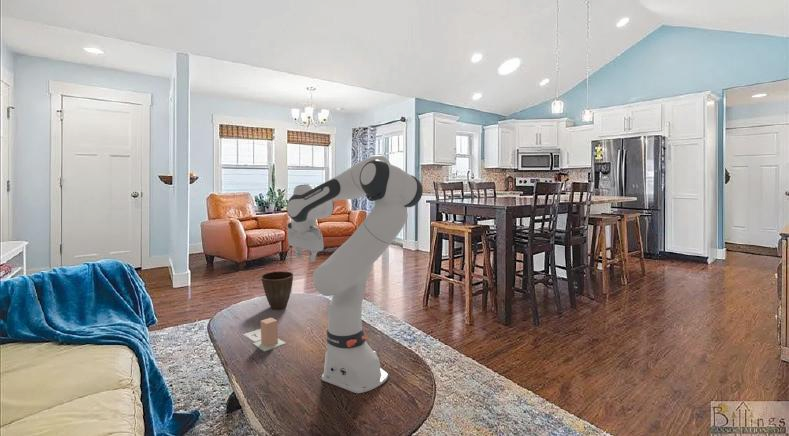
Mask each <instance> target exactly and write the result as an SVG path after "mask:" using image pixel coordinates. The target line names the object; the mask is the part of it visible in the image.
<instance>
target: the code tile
mask: <svg viewBox="0 0 789 436" xmlns="http://www.w3.org/2000/svg"><path fill="white" fill-rule="evenodd" d="M242 335H244V336H245V337H246V338H248V339H250V340H252V341H253V343H255V342H258V341H261V328H258V329H255V330H253V331H249V332H246V333H243V334H242Z"/></svg>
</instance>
